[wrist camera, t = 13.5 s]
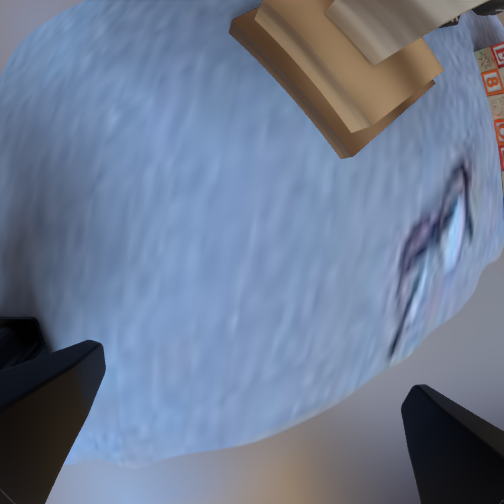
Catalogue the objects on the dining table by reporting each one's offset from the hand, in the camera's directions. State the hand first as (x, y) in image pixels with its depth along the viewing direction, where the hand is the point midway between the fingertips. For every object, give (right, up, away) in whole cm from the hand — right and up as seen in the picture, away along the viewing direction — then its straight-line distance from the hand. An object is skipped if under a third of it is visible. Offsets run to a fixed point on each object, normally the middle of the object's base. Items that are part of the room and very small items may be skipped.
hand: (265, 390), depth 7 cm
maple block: (+7, +18, +9) cm, 21 cm away
